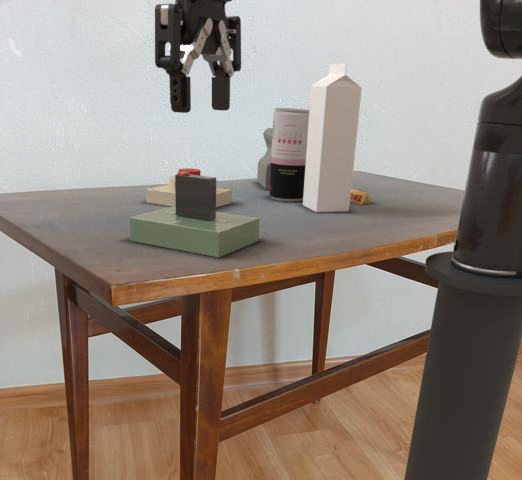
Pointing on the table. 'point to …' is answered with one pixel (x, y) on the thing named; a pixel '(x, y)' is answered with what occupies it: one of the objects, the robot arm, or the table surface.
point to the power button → (191, 171)
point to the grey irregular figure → (265, 161)
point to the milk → (331, 141)
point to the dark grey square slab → (195, 196)
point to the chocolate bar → (359, 197)
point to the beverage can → (288, 154)
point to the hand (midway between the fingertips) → (201, 111)
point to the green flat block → (194, 232)
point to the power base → (167, 195)
